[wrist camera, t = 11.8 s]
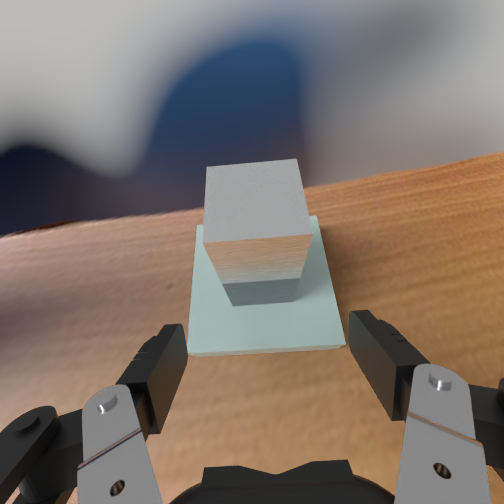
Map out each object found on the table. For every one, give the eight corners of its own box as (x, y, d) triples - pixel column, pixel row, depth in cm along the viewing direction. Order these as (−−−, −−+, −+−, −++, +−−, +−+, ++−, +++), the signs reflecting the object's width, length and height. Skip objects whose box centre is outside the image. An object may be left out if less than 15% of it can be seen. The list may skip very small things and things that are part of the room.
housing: (232, 306, 19) (202, 242, 11) (232, 253, 22) (206, 167, 13) (293, 301, 19) (313, 234, 10) (285, 249, 22) (296, 158, 13)
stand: (196, 357, 20) (186, 353, 18) (204, 240, 26) (197, 225, 24) (336, 349, 20) (346, 344, 17) (311, 232, 26) (316, 215, 23)
